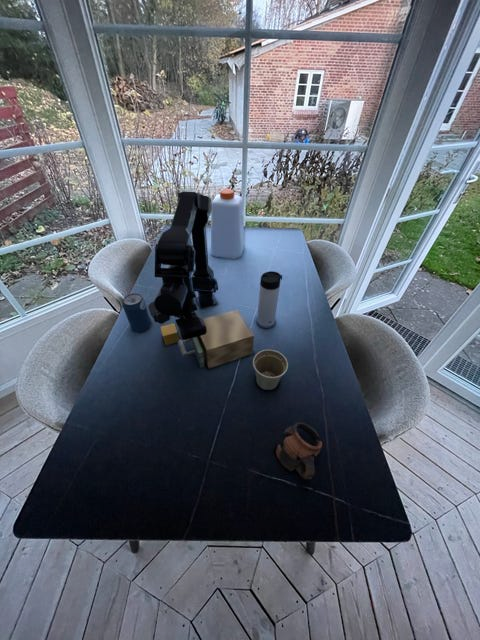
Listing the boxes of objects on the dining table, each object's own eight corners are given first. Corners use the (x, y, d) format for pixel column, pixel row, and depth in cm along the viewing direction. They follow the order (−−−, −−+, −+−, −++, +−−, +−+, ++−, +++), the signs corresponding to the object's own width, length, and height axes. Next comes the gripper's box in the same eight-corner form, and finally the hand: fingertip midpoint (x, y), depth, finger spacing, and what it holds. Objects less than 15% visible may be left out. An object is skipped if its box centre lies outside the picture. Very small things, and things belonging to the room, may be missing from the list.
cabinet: (208, 368, 79) (206, 350, 73) (196, 339, 88) (193, 321, 82) (252, 354, 84) (254, 335, 78) (237, 328, 92) (237, 309, 86)
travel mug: (274, 329, 92) (281, 282, 78) (255, 326, 93) (259, 279, 79) (276, 317, 96) (283, 271, 82) (258, 315, 97) (262, 268, 83)
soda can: (156, 323, 93) (148, 296, 85) (142, 335, 89) (132, 308, 80) (141, 316, 95) (132, 289, 87) (126, 328, 91) (116, 301, 83)
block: (162, 336, 89) (160, 326, 86) (176, 332, 90) (174, 323, 87) (165, 345, 86) (163, 336, 83) (179, 341, 87) (177, 332, 84)
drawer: (186, 372, 77) (183, 357, 73) (177, 345, 85) (174, 330, 80) (242, 354, 83) (242, 339, 78) (228, 329, 90) (228, 315, 85)
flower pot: (286, 372, 79) (291, 354, 73) (279, 399, 72) (284, 382, 66) (256, 364, 81) (258, 345, 75) (247, 389, 74) (248, 371, 69)
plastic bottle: (217, 242, 137) (214, 184, 118) (245, 245, 135) (247, 187, 116) (208, 257, 126) (204, 195, 107) (239, 261, 124) (241, 199, 105)
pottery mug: (268, 440, 65) (284, 416, 62) (299, 444, 68) (315, 421, 65) (285, 489, 55) (306, 464, 52) (321, 491, 58) (341, 467, 55)
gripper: (141, 274, 68) (153, 319, 79) (154, 321, 56) (167, 366, 66) (183, 266, 71) (189, 309, 82) (205, 308, 59) (209, 352, 70)
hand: (188, 332), depth 75 cm, fingers closed
